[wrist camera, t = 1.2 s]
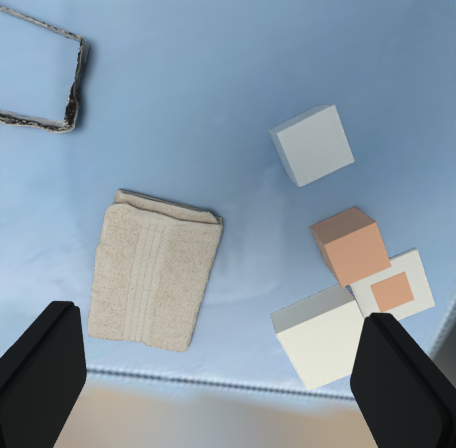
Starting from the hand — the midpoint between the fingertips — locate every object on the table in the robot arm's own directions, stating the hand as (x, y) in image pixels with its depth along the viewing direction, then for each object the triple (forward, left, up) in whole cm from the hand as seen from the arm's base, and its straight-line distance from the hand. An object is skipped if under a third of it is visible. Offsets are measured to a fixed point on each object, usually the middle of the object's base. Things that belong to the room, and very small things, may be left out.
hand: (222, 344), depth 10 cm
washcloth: (+11, +5, -24) cm, 27 cm away
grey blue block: (-9, -1, -23) cm, 25 cm away
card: (-12, +19, -23) cm, 32 cm away
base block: (-3, +20, -23) cm, 31 cm away
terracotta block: (-9, +10, -23) cm, 27 cm away
